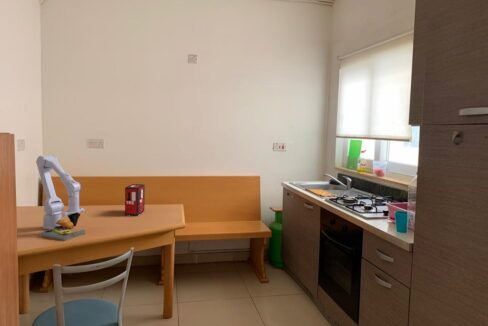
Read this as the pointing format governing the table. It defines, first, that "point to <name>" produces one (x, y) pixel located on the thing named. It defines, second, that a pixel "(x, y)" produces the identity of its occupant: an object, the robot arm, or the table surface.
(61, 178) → the robot arm
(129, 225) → the table surface
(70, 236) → the rack
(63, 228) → the cheeseburger
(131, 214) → the cleaning product box
